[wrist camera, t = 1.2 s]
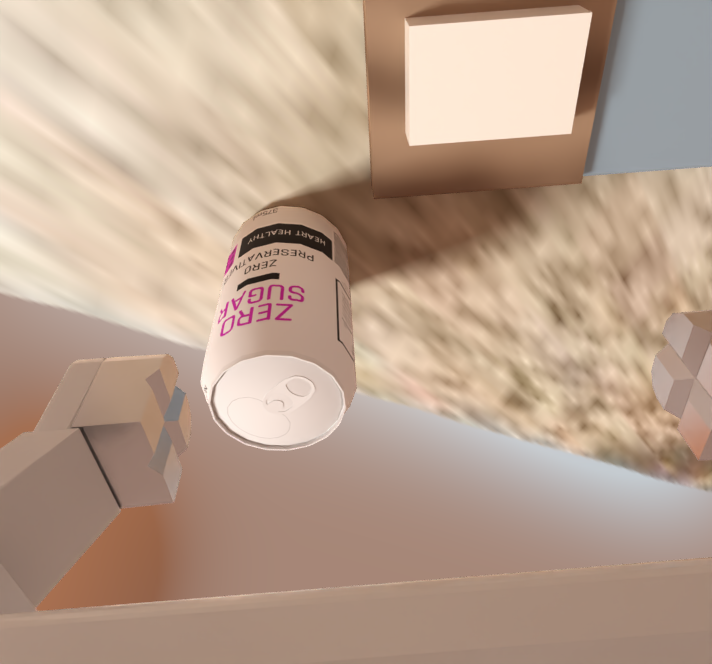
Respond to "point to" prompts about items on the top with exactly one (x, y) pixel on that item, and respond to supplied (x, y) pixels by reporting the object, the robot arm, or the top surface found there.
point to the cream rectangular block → (493, 74)
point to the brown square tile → (473, 158)
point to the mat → (655, 89)
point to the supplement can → (282, 333)
